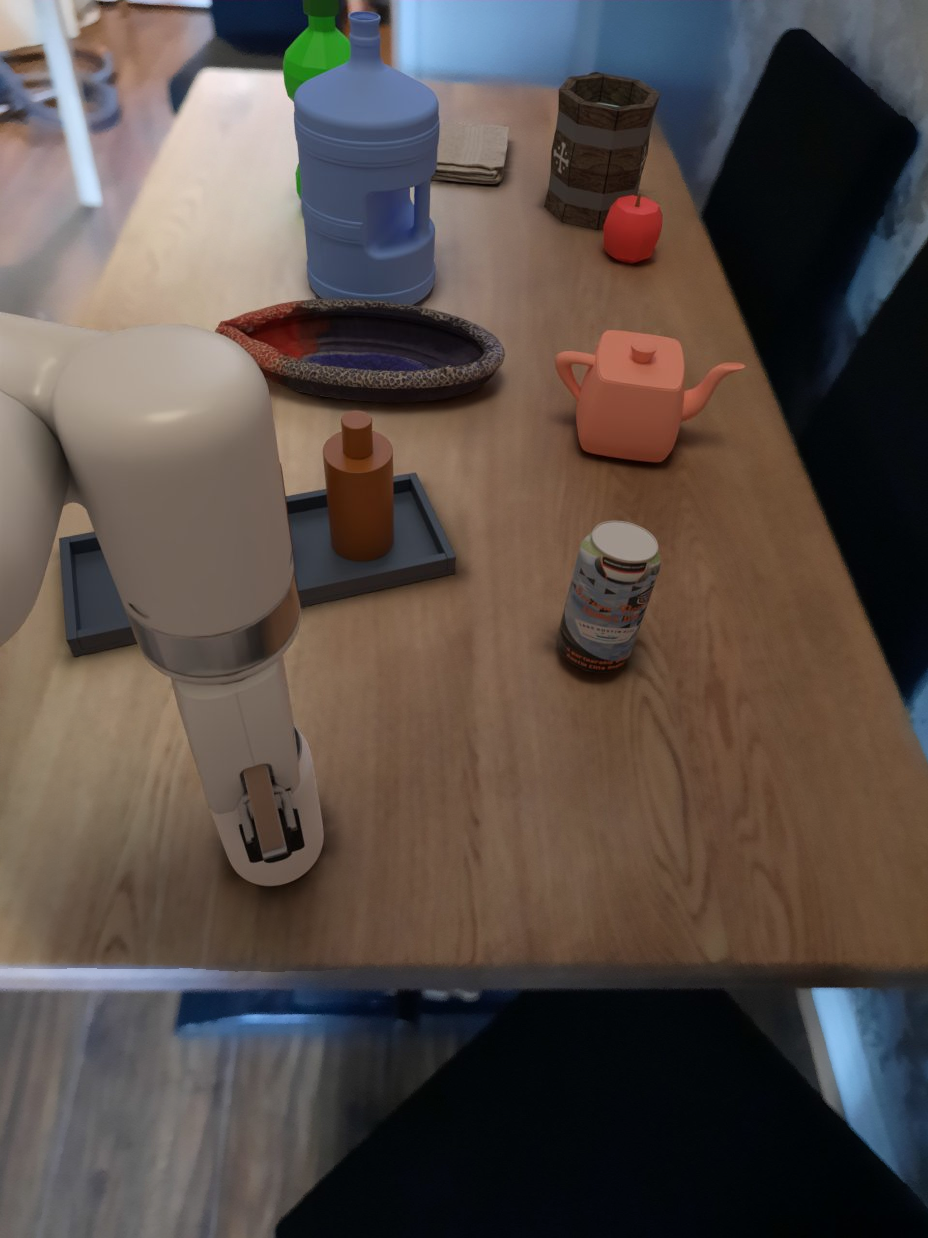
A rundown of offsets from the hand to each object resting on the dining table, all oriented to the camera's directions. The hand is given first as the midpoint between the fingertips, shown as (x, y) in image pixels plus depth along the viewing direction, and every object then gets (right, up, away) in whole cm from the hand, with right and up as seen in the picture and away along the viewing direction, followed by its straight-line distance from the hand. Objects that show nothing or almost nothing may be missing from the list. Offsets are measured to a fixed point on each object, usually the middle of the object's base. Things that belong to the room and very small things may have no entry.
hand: (262, 789), depth 52 cm
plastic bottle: (-6, +67, +66) cm, 94 cm away
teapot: (+30, +30, +37) cm, 56 cm away
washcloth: (+13, +81, +79) cm, 114 cm away
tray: (-5, +15, +22) cm, 27 cm away
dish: (+1, +38, +42) cm, 56 cm away
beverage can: (+23, +8, +18) cm, 30 cm away
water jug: (+1, +52, +54) cm, 75 cm away
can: (0, -5, +6) cm, 8 cm away
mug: (+30, +72, +73) cm, 107 cm away
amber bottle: (+3, +18, +24) cm, 30 cm away
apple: (+34, +59, +62) cm, 92 cm away
